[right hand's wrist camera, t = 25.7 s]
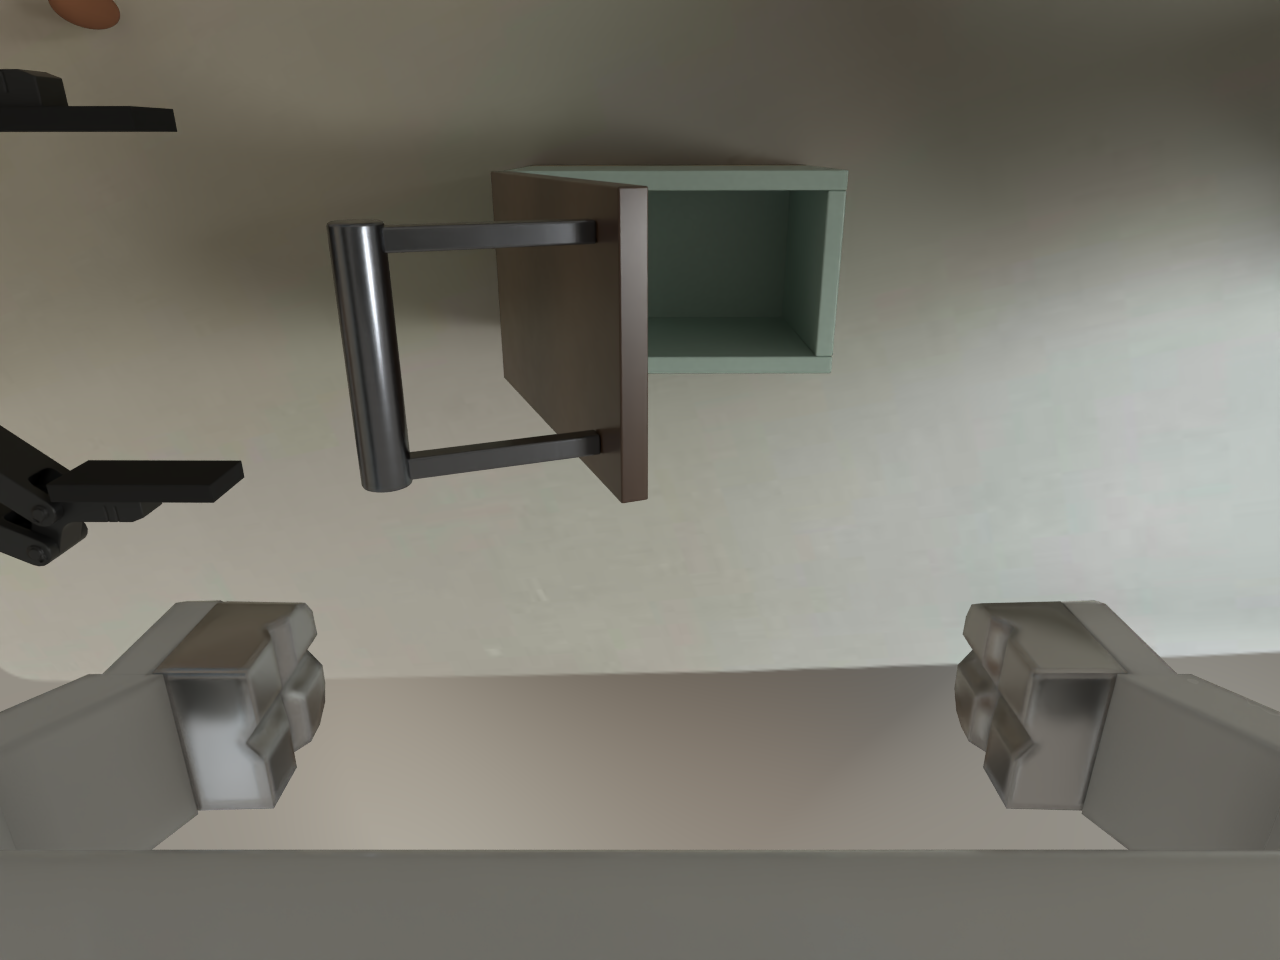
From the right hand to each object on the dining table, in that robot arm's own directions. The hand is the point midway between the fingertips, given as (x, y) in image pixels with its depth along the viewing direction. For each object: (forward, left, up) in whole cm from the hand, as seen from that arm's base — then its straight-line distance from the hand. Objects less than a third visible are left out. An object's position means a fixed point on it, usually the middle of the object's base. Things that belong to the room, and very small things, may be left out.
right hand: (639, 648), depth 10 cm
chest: (-1, -1, -43) cm, 43 cm away
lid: (+2, +2, -24) cm, 24 cm away
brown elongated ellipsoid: (+27, +16, -43) cm, 53 cm away
